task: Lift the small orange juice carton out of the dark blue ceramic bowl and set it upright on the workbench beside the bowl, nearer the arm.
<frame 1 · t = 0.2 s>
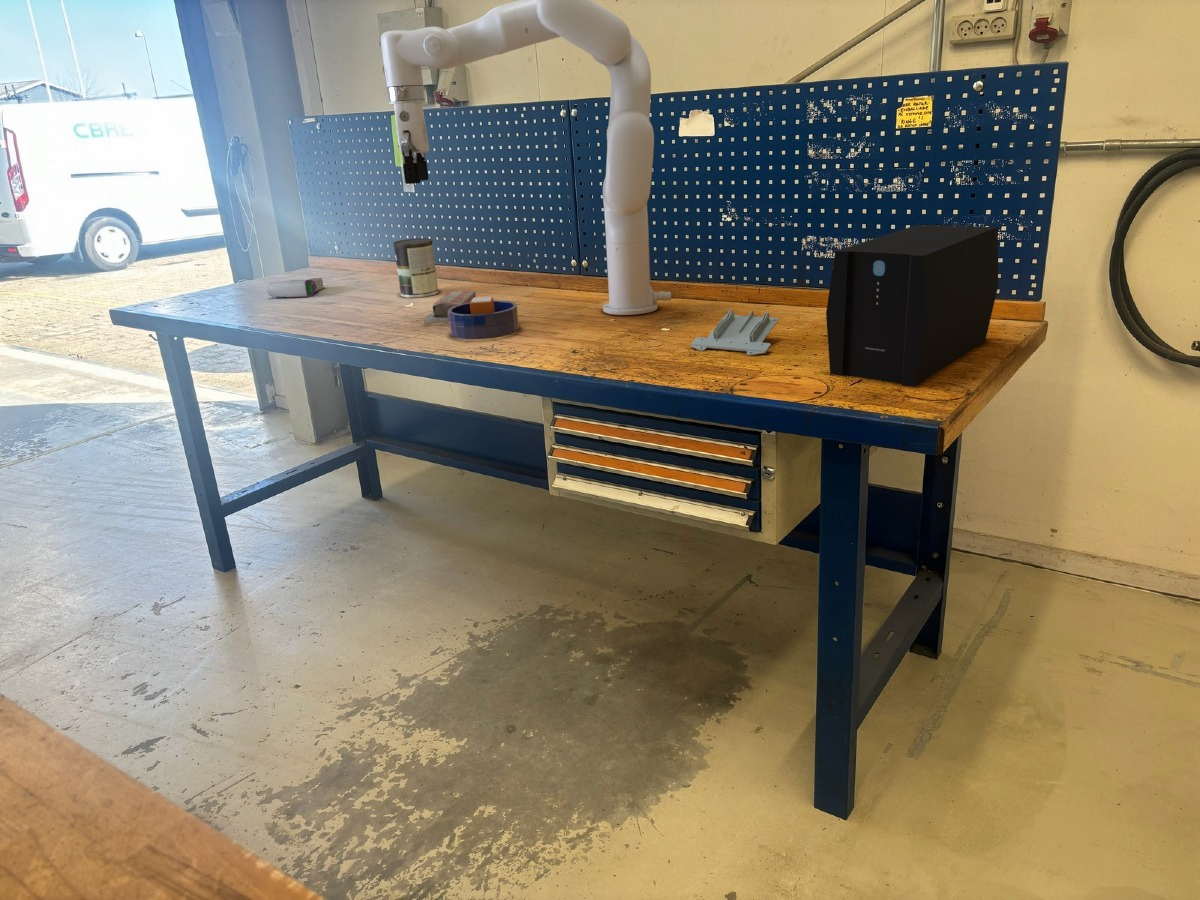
hand: (417, 181, 184), 31 cm above the table, tool pointing down, fingers open, 9 cm apart
carton: (485, 330, 182), point 1 cm above the table, touching bowl
bowl: (485, 333, 182), on the table
infrared thermometer: (298, 294, 242), on the table
coffee can: (420, 294, 230), on the table
packaged product: (455, 317, 200), on the table
metal bracket: (740, 344, 162), on the table
uninterruptible power supply: (913, 356, 148), on the table
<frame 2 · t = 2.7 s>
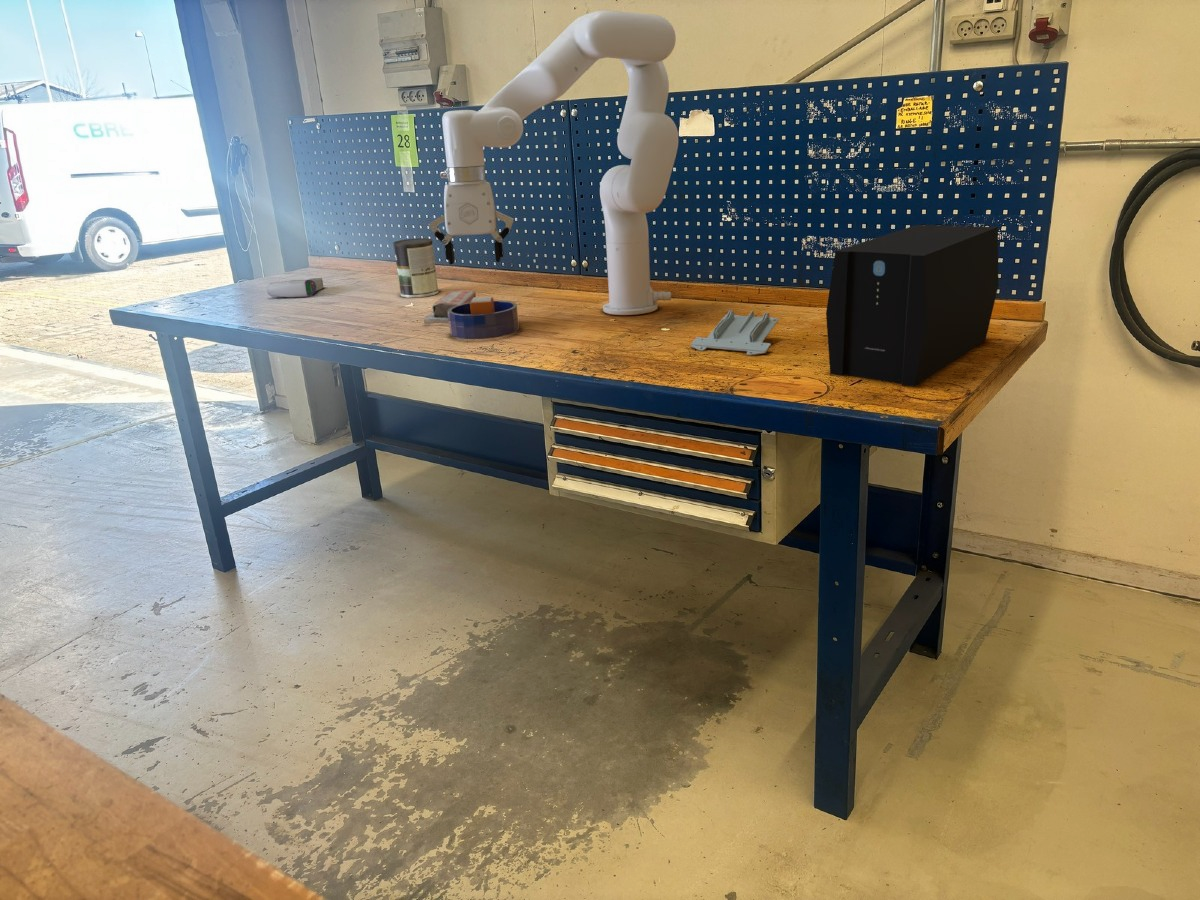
hand: (475, 262, 177), 15 cm above the table, tool pointing down, fingers open, 9 cm apart
nothing on the table moved.
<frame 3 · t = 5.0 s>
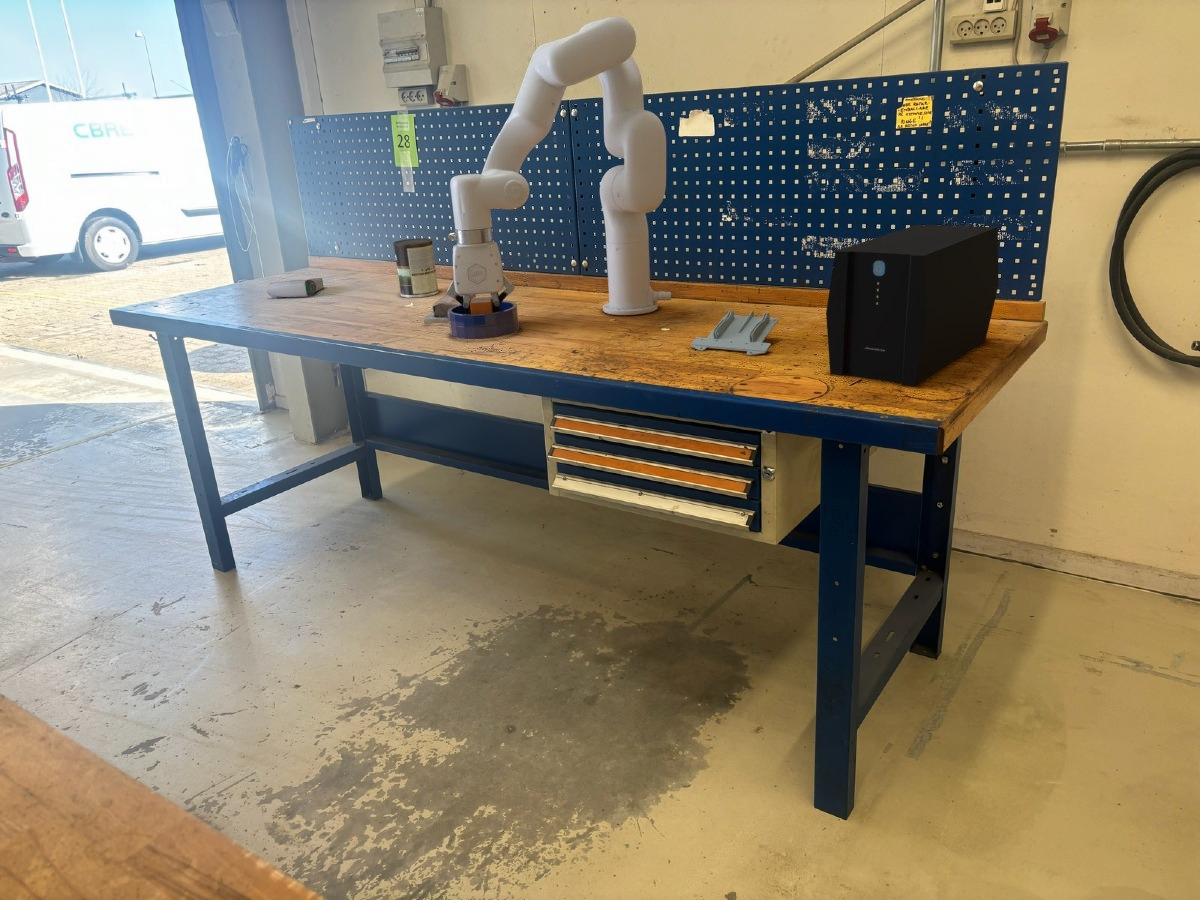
hand: (484, 323, 182), 2 cm above the table, tool pointing down, fingers closed on carton, 4 cm apart
carton: (485, 330, 182), point 1 cm above the table, touching bowl, gripper
everything else where it was.
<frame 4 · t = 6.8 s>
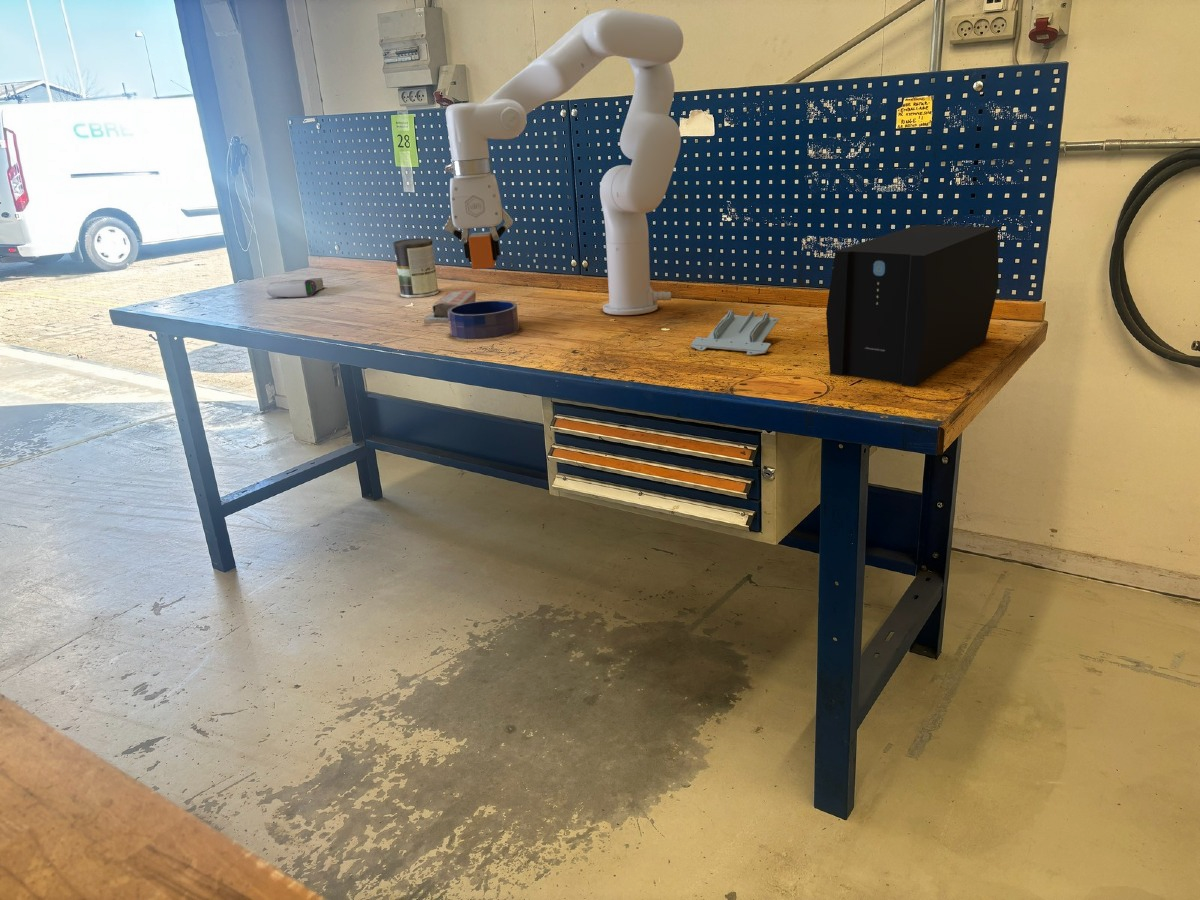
hand: (483, 259, 178), 15 cm above the table, tool pointing down, fingers closed on carton, 4 cm apart
carton: (484, 266, 178), point 14 cm above the table, touching gripper
everything else where it was.
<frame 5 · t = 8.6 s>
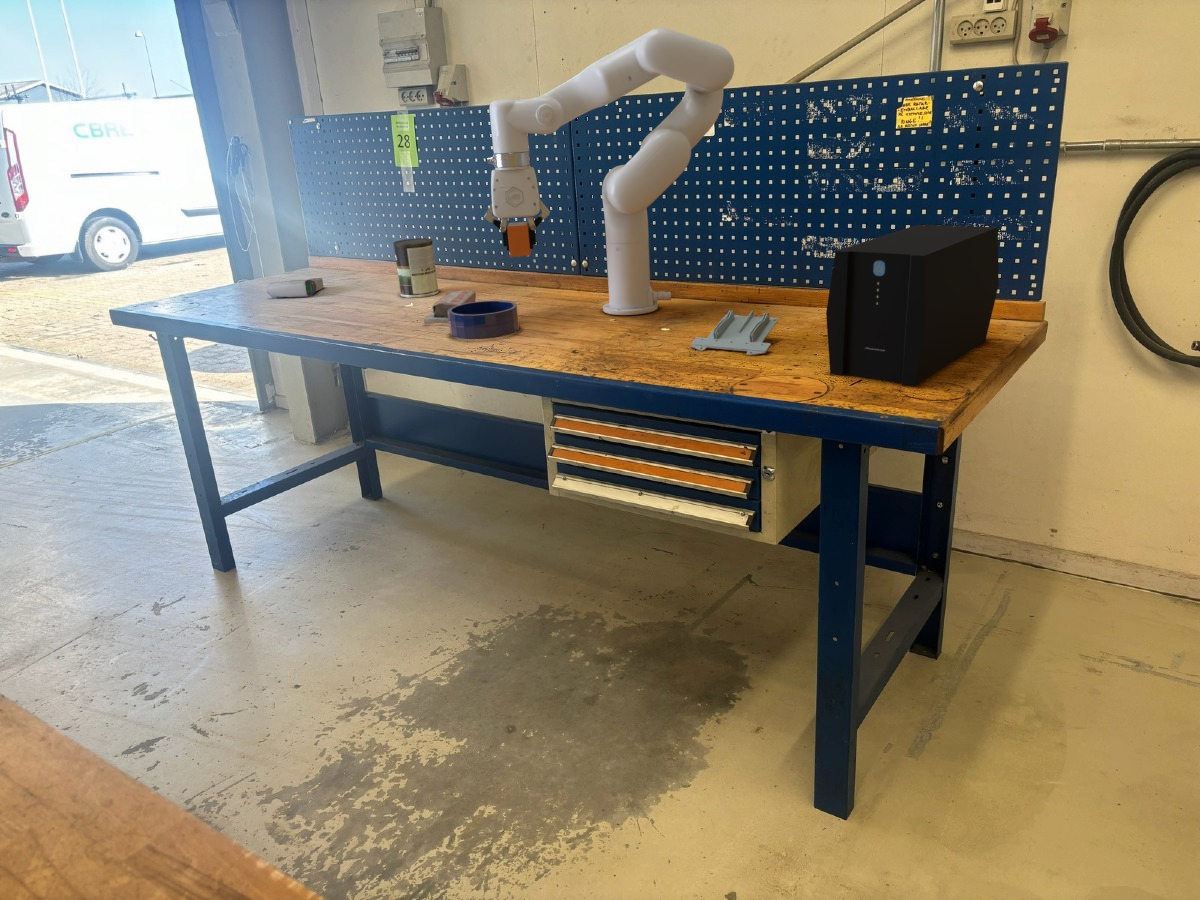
hand: (520, 248, 188), 16 cm above the table, tool pointing down, fingers closed on carton, 4 cm apart
carton: (520, 254, 188), point 14 cm above the table, touching gripper
everything else where it was.
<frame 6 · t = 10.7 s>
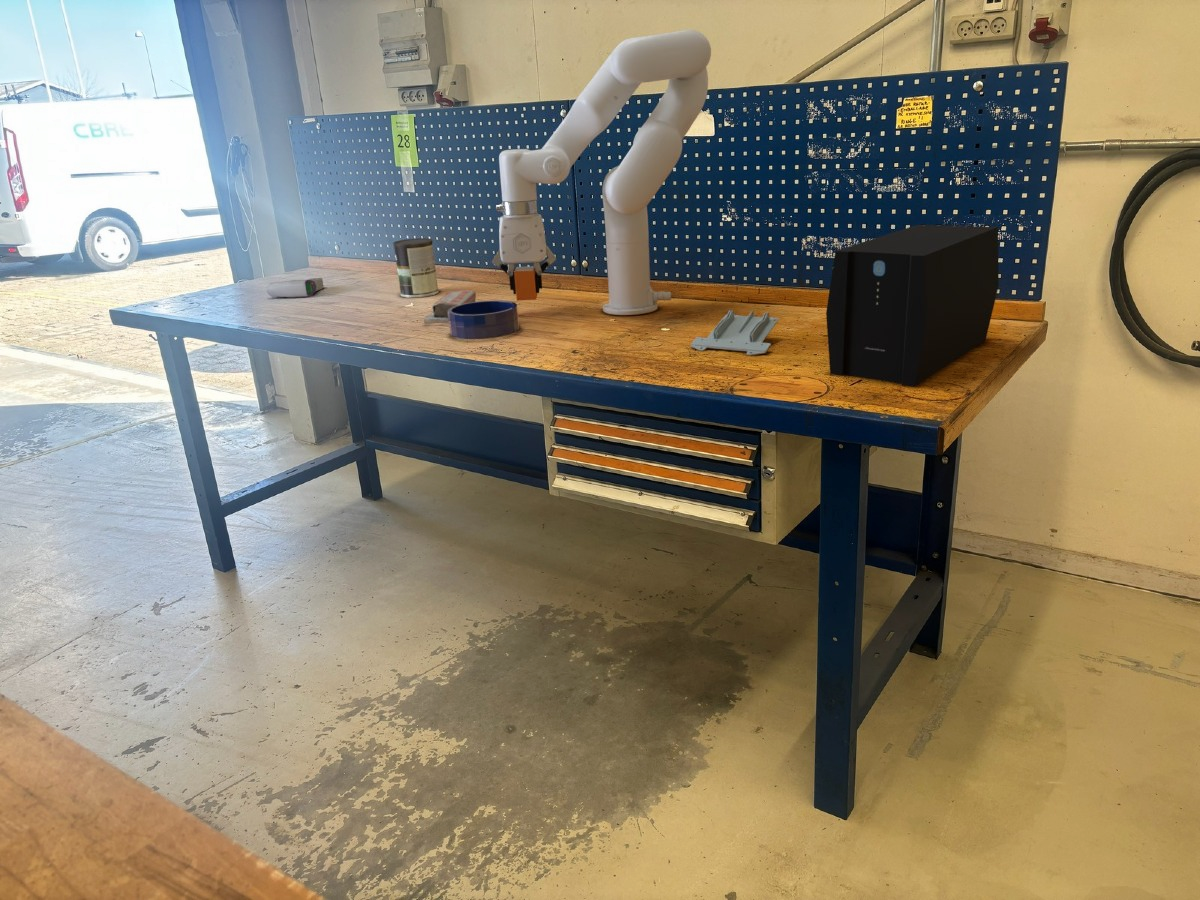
hand: (526, 291, 192), 6 cm above the table, tool pointing down, fingers closed on carton, 4 cm apart
carton: (527, 298, 193), point 4 cm above the table, touching gripper
everything else where it was.
when the fingers open (1 cm above the table, at t = 12.2 s): carton stays where it is, on the table.
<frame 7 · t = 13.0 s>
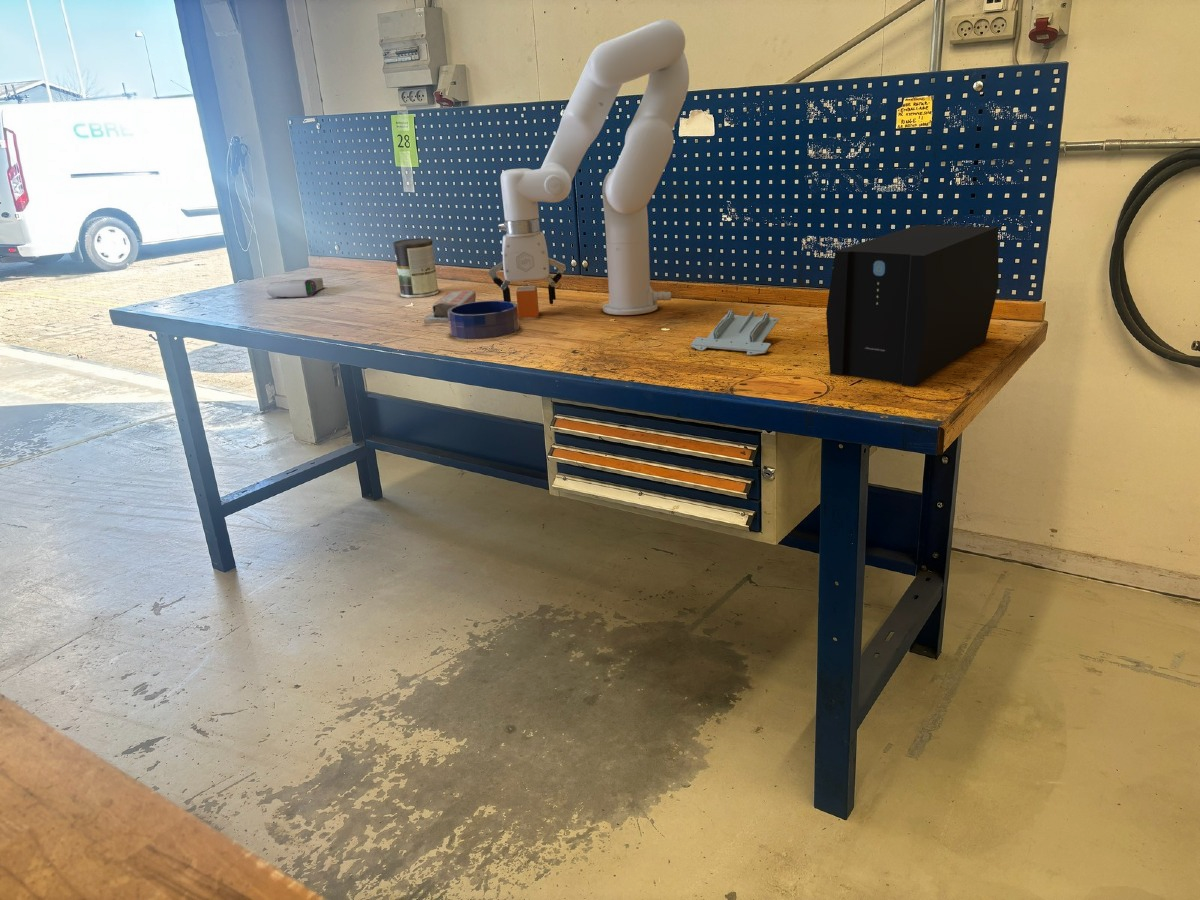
hand: (530, 304, 193), 3 cm above the table, tool pointing down, fingers open, 9 cm apart
carton: (529, 317, 194), on the table
everything else where it was.
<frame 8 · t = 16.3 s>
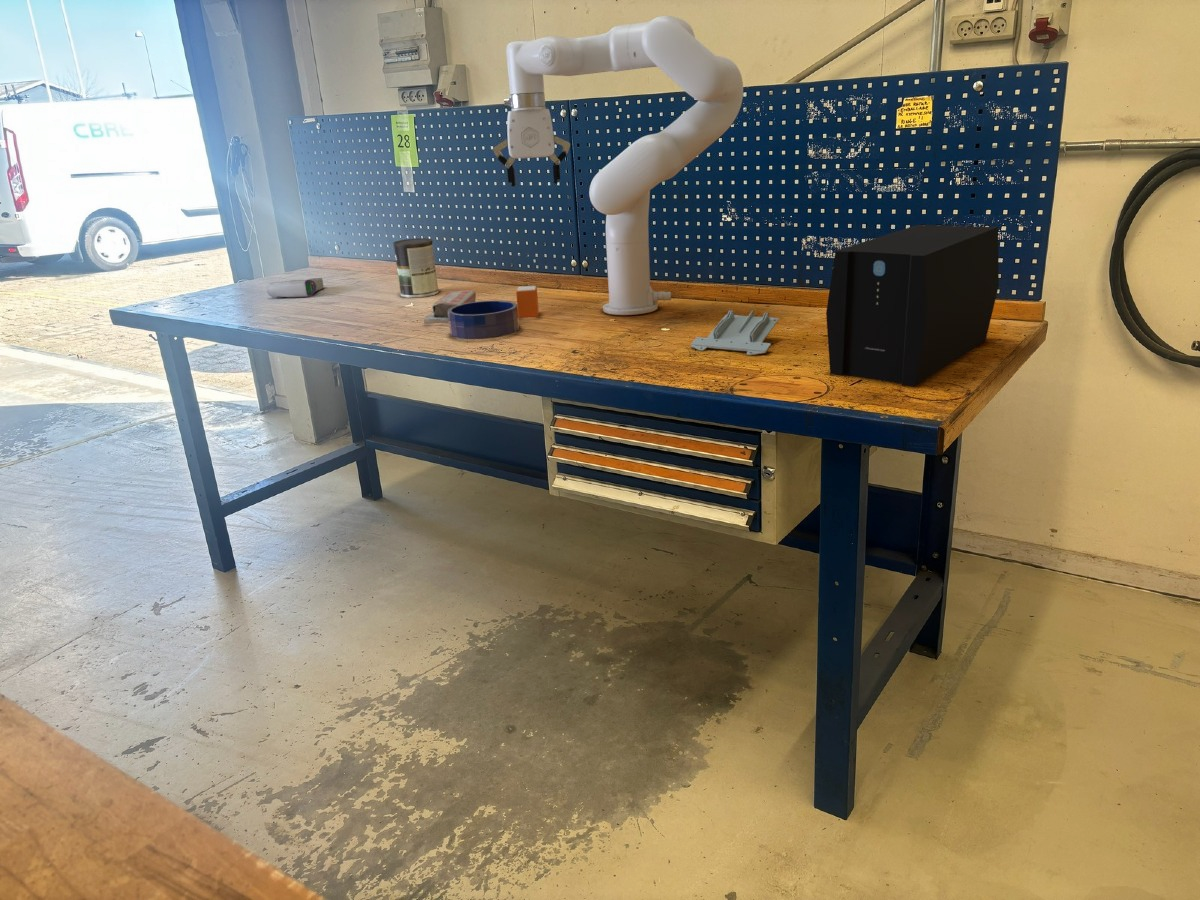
hand: (534, 184, 193), 28 cm above the table, tool pointing down, fingers open, 9 cm apart
nothing on the table moved.
at the end: carton inside the target area (0.3 cm from its centre), on the table; carton touching table; carton tilted 0° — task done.
